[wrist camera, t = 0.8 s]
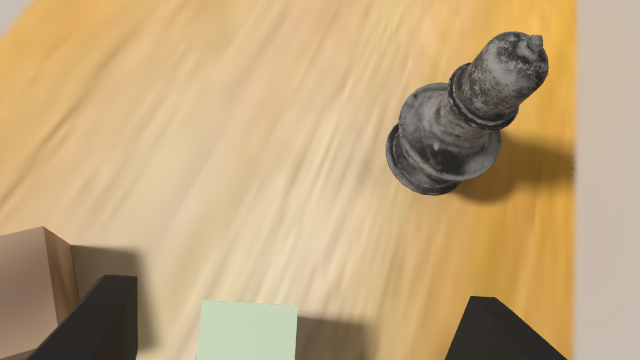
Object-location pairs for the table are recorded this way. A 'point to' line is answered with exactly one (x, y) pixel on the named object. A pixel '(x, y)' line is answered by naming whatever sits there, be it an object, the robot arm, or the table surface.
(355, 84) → the table surface
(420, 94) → the dark grey tall piece
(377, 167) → the table surface
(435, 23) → the table surface
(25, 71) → the table surface
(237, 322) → the sage block
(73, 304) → the walnut block
